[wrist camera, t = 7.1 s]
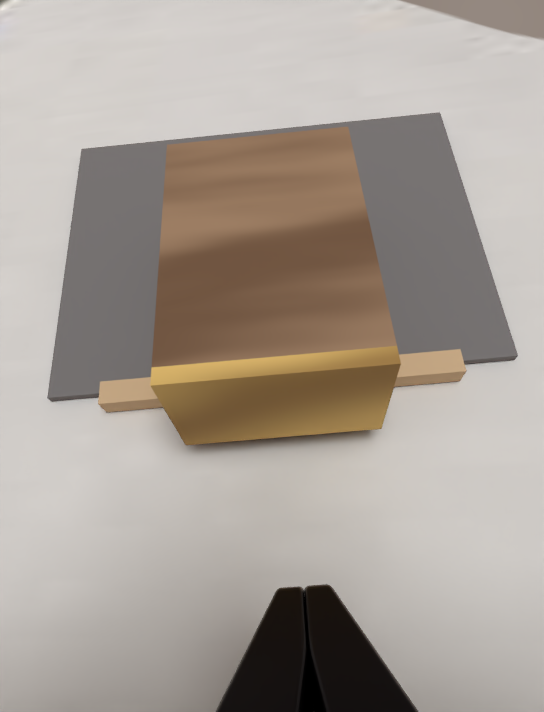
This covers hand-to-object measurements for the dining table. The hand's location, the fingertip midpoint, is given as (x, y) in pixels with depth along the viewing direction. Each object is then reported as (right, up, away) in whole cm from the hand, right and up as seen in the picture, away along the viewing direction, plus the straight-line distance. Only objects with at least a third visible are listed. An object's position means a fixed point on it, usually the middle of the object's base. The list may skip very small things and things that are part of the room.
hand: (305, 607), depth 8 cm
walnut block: (0, +2, +6) cm, 6 cm away
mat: (-1, +8, +12) cm, 15 cm away
